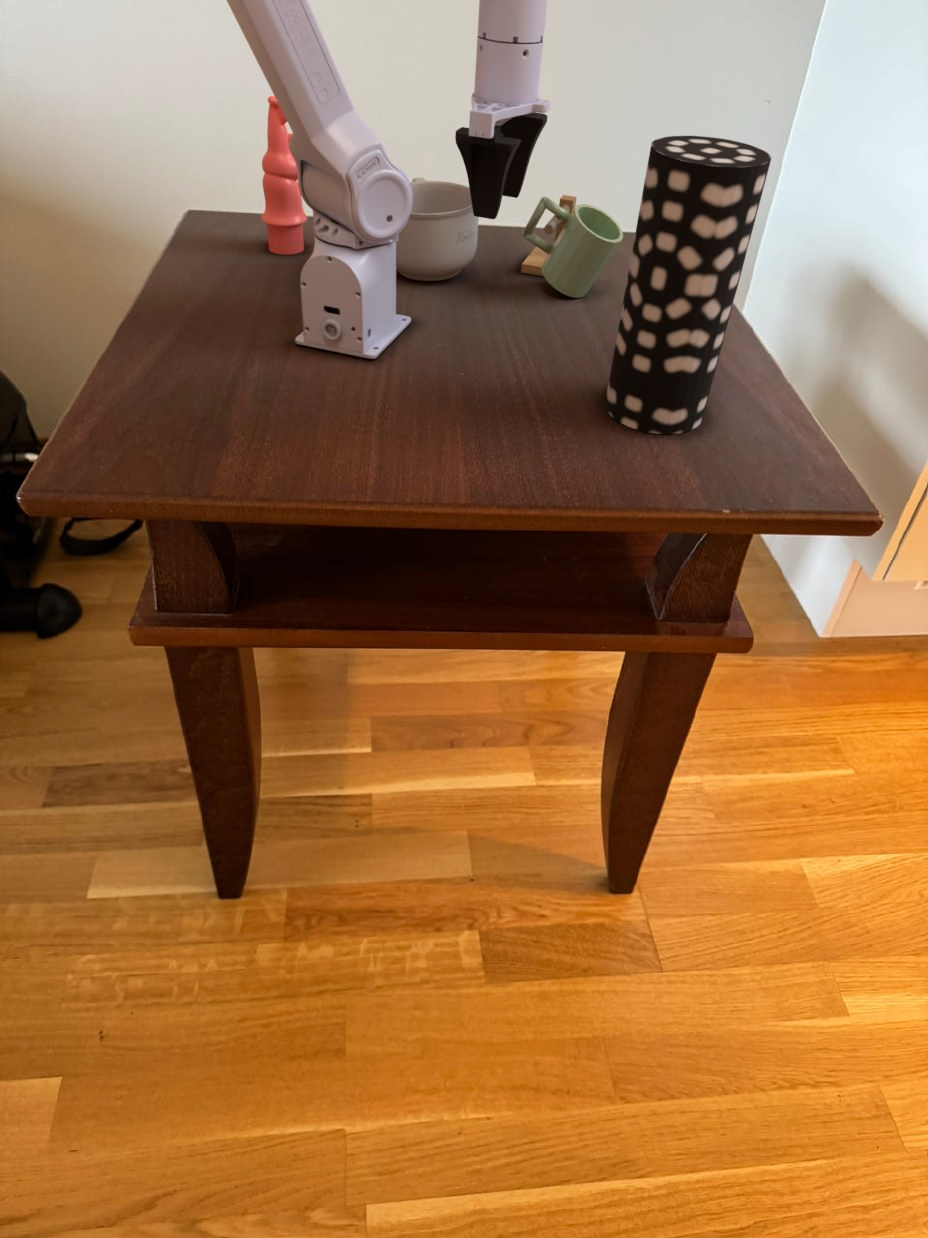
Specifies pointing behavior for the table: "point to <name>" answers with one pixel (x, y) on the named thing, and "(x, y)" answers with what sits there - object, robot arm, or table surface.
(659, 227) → the spotted tube
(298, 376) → the table surface
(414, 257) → the teacup
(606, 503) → the table surface
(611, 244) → the mug
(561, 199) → the mug stand
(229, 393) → the table surface
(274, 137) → the figurine
